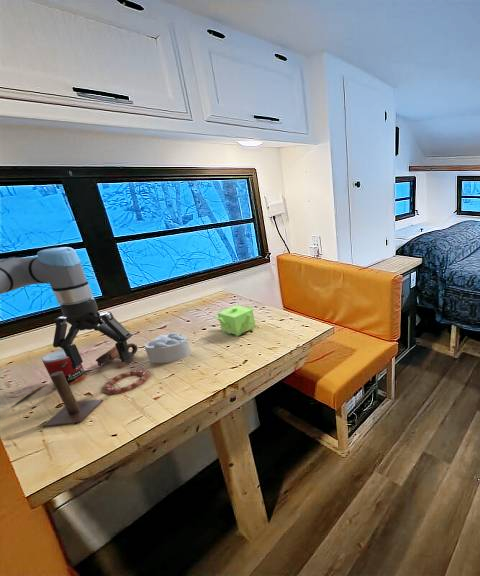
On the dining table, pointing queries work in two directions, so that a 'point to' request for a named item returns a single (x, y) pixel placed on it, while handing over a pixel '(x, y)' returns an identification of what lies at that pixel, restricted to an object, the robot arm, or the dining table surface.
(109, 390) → the ring
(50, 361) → the canned food
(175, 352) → the lumpy-topped squat cylinder
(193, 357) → the dining table surface
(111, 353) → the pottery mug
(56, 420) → the post
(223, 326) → the knobby lime green cube
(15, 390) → the dining table surface
